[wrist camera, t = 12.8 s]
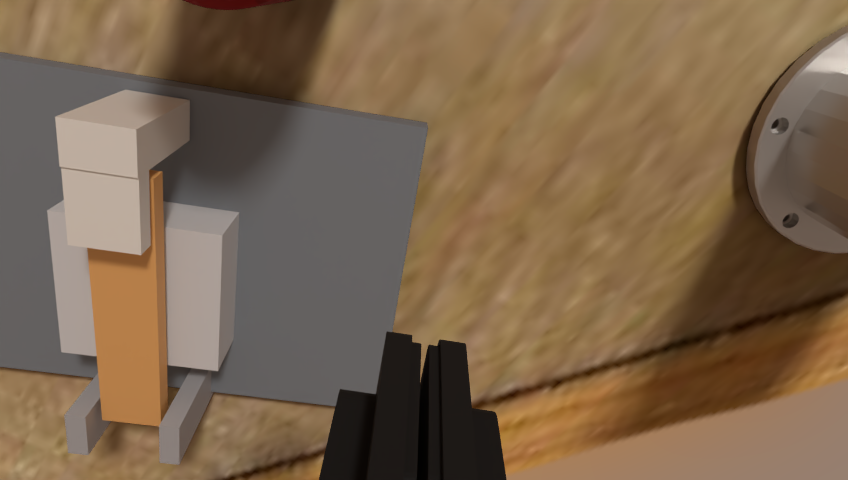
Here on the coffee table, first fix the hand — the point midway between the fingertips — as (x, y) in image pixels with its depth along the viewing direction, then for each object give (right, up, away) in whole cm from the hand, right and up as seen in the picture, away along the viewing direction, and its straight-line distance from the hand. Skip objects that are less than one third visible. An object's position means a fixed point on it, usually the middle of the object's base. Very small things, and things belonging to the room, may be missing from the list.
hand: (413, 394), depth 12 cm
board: (-13, +3, +20) cm, 24 cm away
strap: (-14, 0, +16) cm, 21 cm away
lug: (-13, +8, +17) cm, 22 cm away
